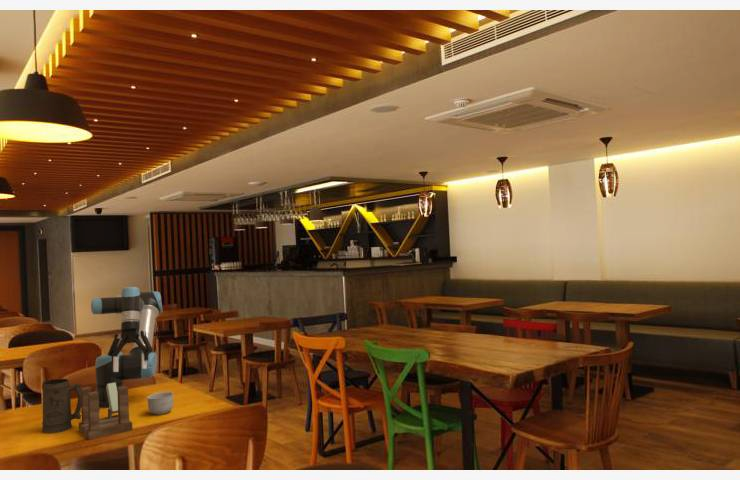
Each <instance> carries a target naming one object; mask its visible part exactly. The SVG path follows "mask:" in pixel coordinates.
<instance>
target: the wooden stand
mask: <svg viewBox="0 0 740 480" xmlns="http://www.w3.org/2000/svg"><path fill="white" fill-rule="evenodd" d="M117 395H118V413H117V414H116V415H115V414H114V415H113V414H112V410H111V409H110V408H107V416H105V417H101V418H100V407H99V393H98V392H97V391H96V390H95V391H92V387H91V386H84V387H81V409H80V414H81V422H78V430H79V431H80V433H81V434H82V435H83V436H85V437H86V438H87V440H88V441H90V440H94V439H99V438H103V437H108V436H113V435H116V434H121V433H126V432H129V431H133V422H132V421H131V420H130V409H129V407H130V406H129V405H130V404H129V387H128V386H126V385H123V387H118V388H117Z"/></svg>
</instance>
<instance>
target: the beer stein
mask: <svg viewBox="0 0 740 480" xmlns="http://www.w3.org/2000/svg"><path fill="white" fill-rule="evenodd" d="M81 388H82V387H81V383H80V382H79V383H78V382H77V383H75V384H73V385H71V384H70V380H69V379H68V378H55V379H49V380H46V381H42V384H41V389H42V422H41V424H42V427H41V431H42V433H46V434H54V433H61V432H66V431H67V430H70V429H71V428H72V426H73V425H72V424H73V423H72V420H74V419H76V420H81V419H82V414H81ZM71 391H75V392H76V395H77V403H76V407H75V410H74V412H73V413H72V403H71V402H72V401H71Z"/></svg>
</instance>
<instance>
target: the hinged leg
mask: <svg viewBox="0 0 740 480" xmlns="http://www.w3.org/2000/svg"><path fill="white" fill-rule="evenodd" d="M106 390H107V396H108V401H109V407H108V408H109V409H111V410H112V415H113V414H118V395H117V387H116V382H115V383H109V384H107V386H106Z"/></svg>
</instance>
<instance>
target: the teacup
mask: <svg viewBox="0 0 740 480" xmlns="http://www.w3.org/2000/svg"><path fill="white" fill-rule="evenodd" d="M146 399H147V406H148V407H147V408H148V410H149V412H150V413H151V414H153V415H154V416H155V415H156V416H158V415H165V414H167V413H169V412H170V411H171V410H172V409H173V407H174V393H173V392H172V391H163V392H156V393H152V394H150V395H148V396H147V397H146Z"/></svg>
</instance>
